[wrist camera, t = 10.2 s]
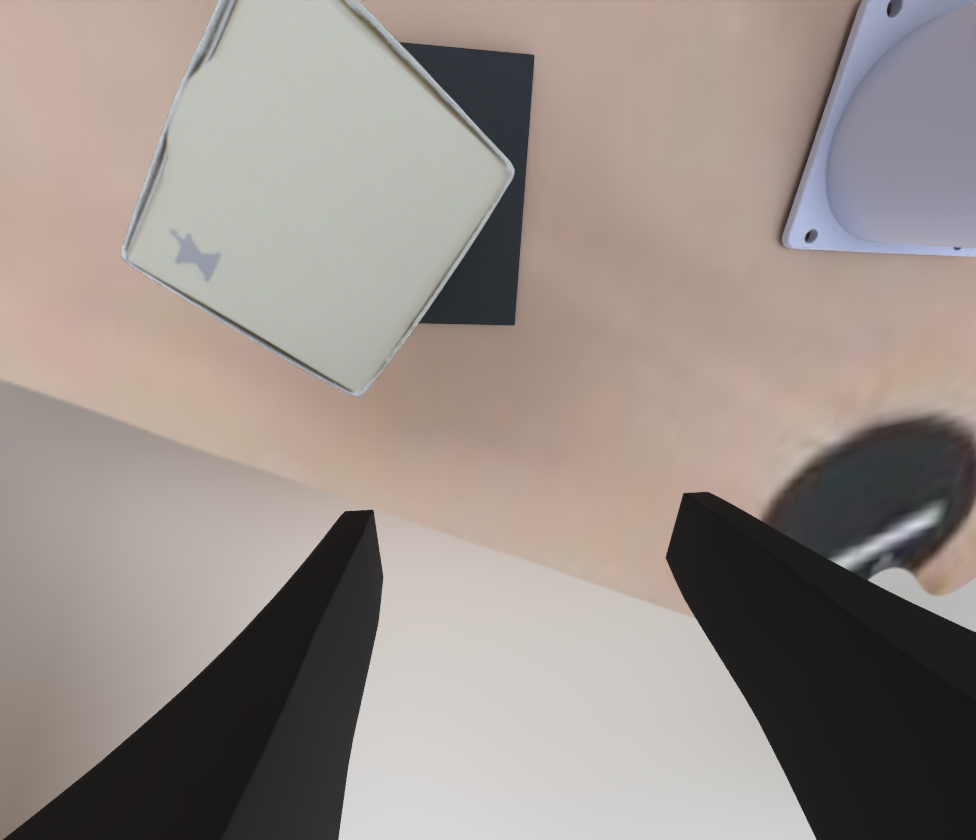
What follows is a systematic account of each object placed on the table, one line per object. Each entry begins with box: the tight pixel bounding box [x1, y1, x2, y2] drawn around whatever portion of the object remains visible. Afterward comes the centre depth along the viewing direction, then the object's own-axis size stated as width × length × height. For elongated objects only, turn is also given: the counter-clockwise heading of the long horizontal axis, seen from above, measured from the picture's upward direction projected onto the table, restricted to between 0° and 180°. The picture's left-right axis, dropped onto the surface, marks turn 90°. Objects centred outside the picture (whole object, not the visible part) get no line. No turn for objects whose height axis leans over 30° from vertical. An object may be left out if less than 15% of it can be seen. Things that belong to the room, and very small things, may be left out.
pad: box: [399, 42, 534, 325], centre depth 15 cm, size 10×9×1 cm
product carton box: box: [121, 0, 515, 397], centre depth 11 cm, size 5×4×10 cm
